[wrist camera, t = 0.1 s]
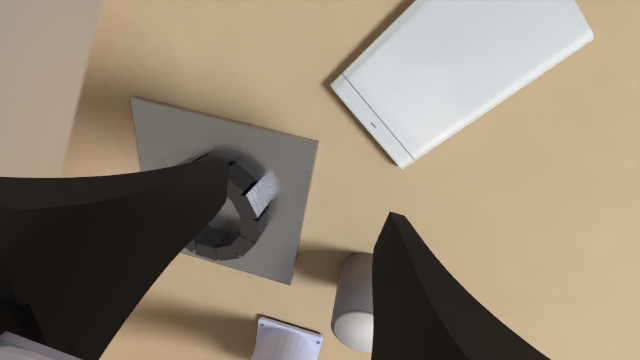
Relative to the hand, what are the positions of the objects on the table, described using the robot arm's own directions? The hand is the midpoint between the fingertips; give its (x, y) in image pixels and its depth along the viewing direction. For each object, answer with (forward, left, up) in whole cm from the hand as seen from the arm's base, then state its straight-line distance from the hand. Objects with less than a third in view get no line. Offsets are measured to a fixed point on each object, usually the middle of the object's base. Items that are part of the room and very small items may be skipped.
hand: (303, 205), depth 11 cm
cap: (-12, -6, -10) cm, 17 cm away
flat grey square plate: (-8, +9, -10) cm, 16 cm away
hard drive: (+7, -6, -11) cm, 14 cm away
